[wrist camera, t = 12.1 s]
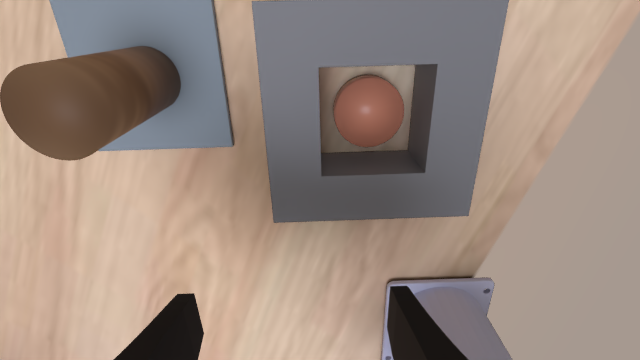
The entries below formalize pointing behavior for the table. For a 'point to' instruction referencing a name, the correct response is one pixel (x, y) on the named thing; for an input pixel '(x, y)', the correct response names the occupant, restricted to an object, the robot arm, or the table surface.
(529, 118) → the table surface
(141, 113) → the dowel
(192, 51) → the mat
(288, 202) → the frame
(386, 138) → the orange domed disc
